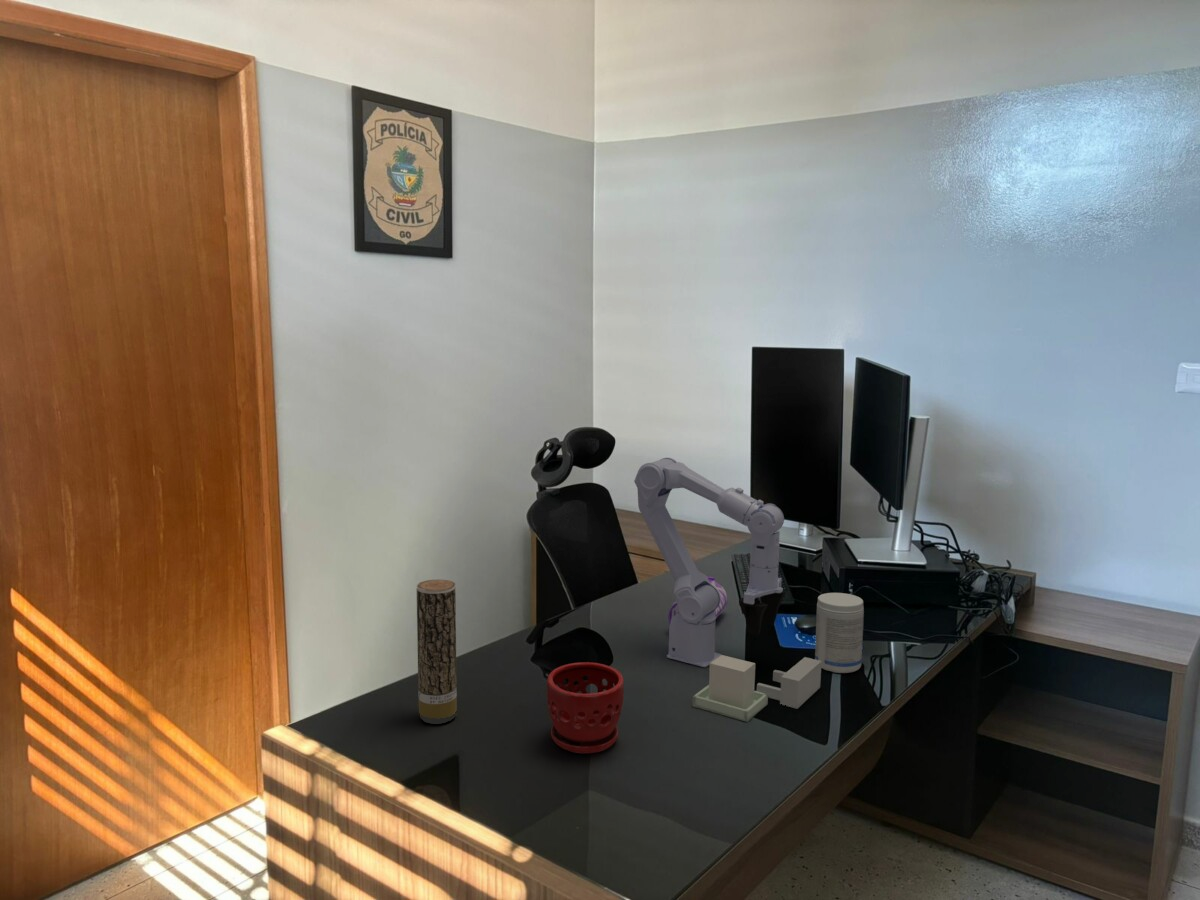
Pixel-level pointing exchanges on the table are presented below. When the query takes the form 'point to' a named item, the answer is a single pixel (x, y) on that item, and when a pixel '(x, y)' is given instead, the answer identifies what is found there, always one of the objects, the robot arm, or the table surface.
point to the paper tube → (436, 648)
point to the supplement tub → (839, 632)
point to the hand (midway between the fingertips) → (761, 628)
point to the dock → (795, 683)
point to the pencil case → (718, 611)
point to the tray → (705, 703)
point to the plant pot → (585, 706)
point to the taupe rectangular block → (732, 681)
